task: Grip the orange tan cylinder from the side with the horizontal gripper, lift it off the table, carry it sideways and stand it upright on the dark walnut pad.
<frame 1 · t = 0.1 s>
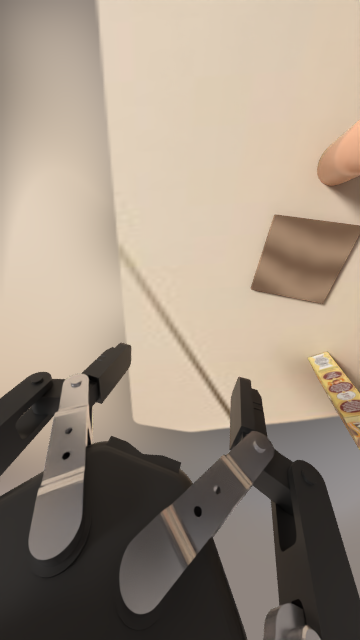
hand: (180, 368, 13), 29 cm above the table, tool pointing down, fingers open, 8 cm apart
walnut pad: (298, 260, 34), on the table
orange tan cylinder: (339, 162, 27), on the table
candy box: (324, 368, 41), on the table
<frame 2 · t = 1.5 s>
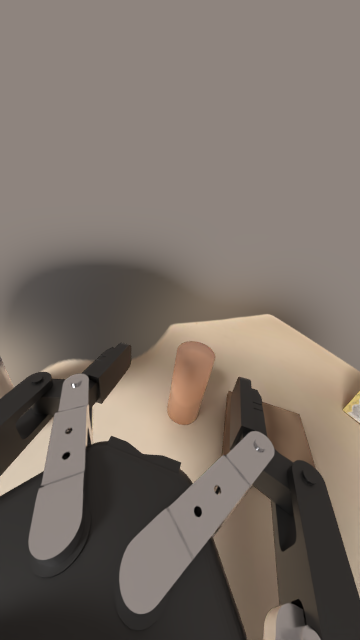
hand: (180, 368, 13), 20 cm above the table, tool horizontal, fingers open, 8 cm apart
walnut pad: (264, 439, 30), on the table
orange tan cylinder: (182, 409, 33), on the table
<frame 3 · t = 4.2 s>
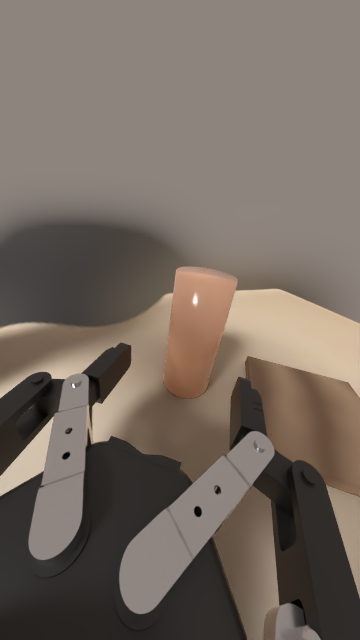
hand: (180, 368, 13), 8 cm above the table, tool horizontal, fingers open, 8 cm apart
walnut pad: (308, 416, 20), on the table
orange tan cylinder: (185, 379, 23), on the table
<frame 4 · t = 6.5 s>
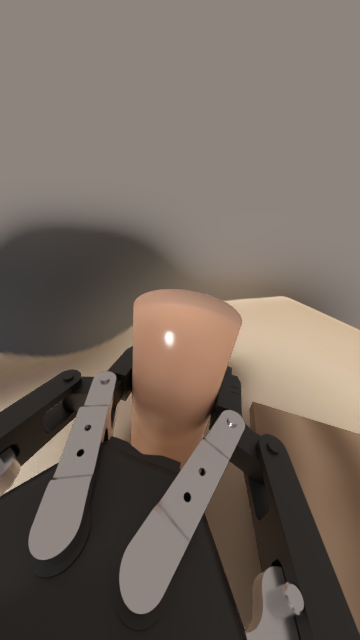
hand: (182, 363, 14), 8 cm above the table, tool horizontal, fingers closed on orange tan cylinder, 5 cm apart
walnut pad: (347, 514, 13), on the table
orange tan cylinder: (164, 445, 16), on the table, touching gripper
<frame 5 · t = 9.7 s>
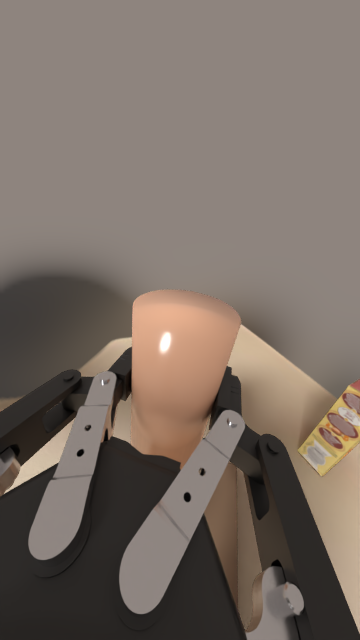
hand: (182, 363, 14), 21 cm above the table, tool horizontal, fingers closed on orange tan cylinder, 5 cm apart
walnut pad: (179, 511, 22), on the table
orange tan cylinder: (164, 445, 16), point 13 cm above the table, touching gripper
candy box: (321, 450, 31), on the table
when the fingers open (10 cm above the table, at t = 13.2 s): orange tan cylinder drops 1 cm, resting on walnut pad.
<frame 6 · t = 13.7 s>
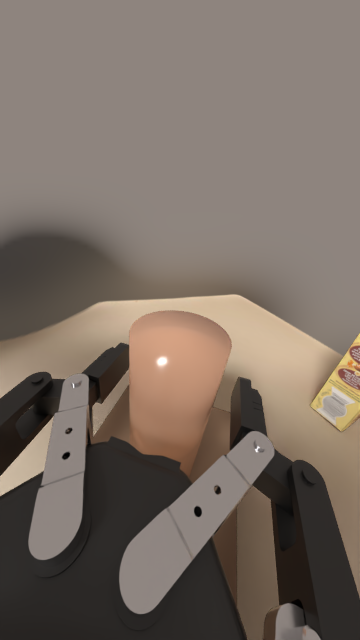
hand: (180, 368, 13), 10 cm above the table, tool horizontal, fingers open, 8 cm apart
walnut pad: (161, 461, 17), on the table
orange tan cylinder: (161, 456, 16), point 1 cm above the table, touching walnut pad
candy box: (338, 407, 26), on the table
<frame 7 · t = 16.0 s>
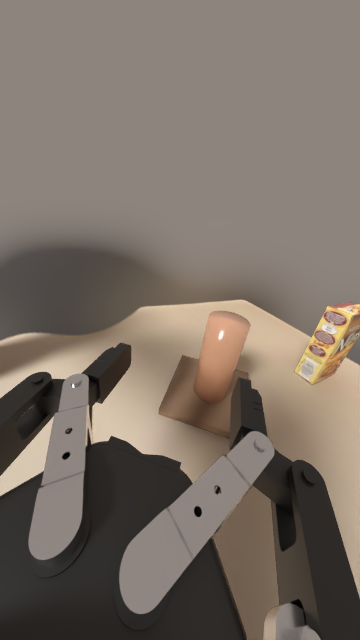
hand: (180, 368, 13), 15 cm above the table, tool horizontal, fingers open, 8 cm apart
walnut pad: (208, 393, 31), on the table
orange tan cylinder: (209, 388, 31), point 1 cm above the table, touching walnut pad
candy box: (313, 373, 40), on the table
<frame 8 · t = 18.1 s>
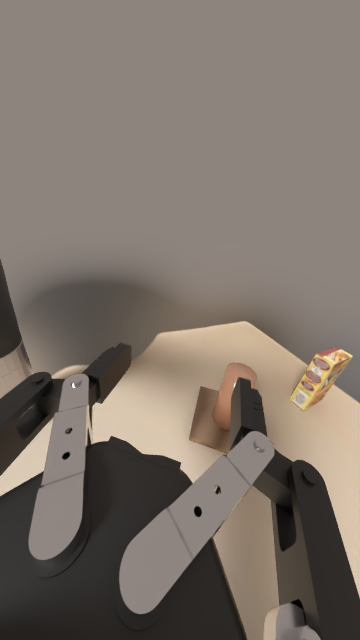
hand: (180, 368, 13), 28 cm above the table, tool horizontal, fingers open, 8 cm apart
walnut pad: (223, 420, 41), on the table
orange tan cylinder: (225, 417, 40), point 1 cm above the table, touching walnut pad
candy box: (304, 399, 49), on the table
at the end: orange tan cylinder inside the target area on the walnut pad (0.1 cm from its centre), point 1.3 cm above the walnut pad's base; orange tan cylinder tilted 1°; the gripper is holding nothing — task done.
